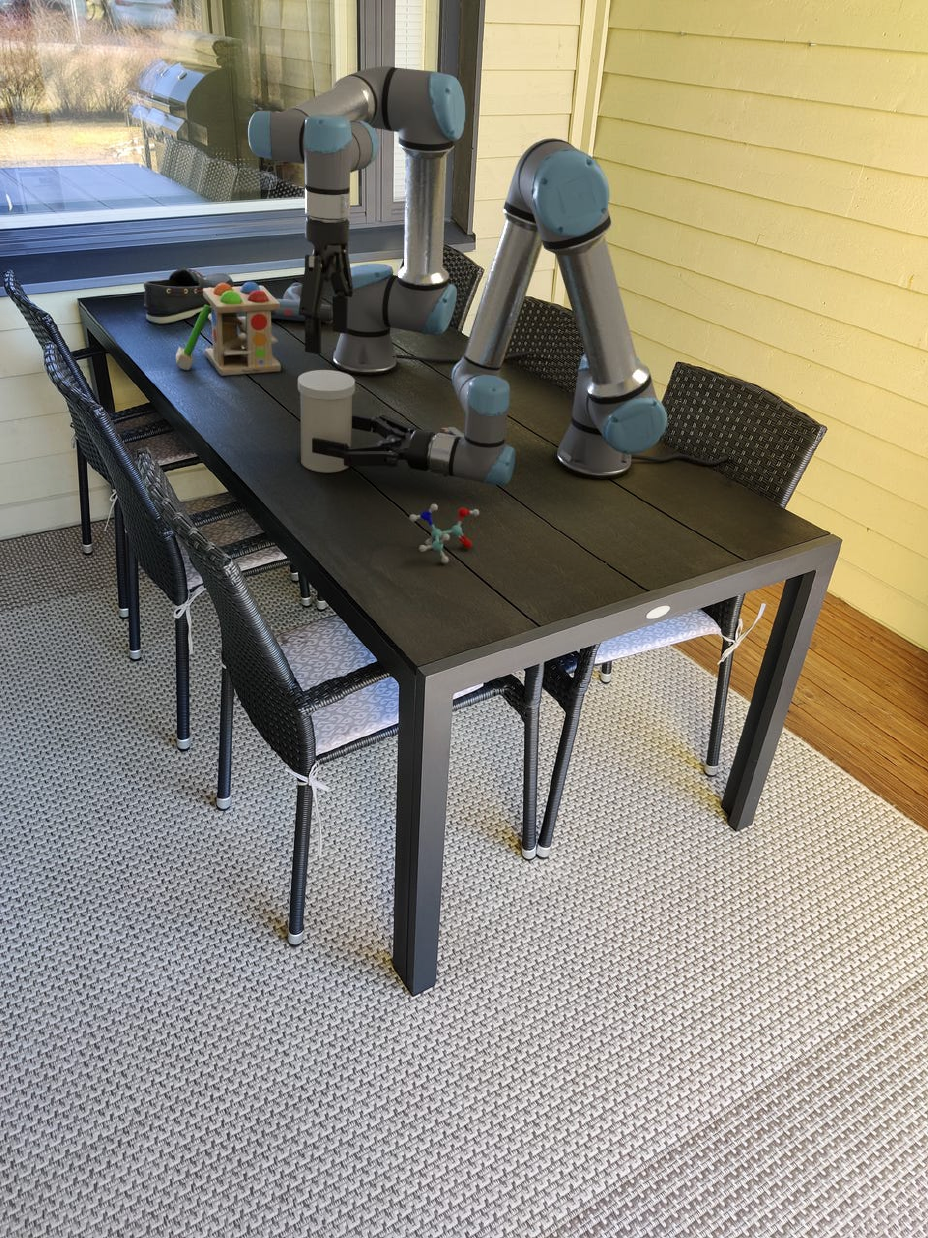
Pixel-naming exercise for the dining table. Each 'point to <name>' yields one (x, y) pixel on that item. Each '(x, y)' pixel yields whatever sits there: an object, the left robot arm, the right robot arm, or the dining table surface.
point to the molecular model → (437, 533)
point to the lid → (326, 384)
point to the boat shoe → (179, 295)
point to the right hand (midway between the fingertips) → (326, 431)
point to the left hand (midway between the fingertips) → (326, 341)
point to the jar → (324, 430)
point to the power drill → (297, 306)
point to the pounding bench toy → (229, 347)
